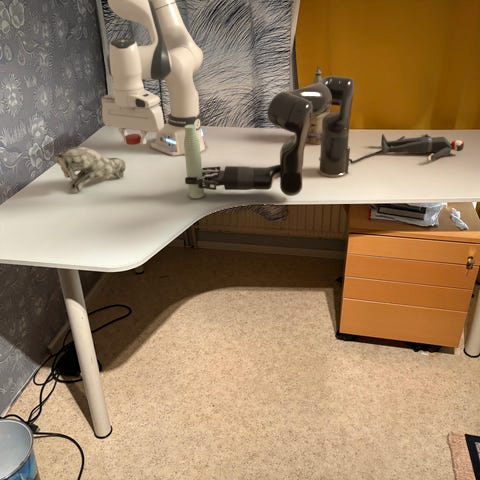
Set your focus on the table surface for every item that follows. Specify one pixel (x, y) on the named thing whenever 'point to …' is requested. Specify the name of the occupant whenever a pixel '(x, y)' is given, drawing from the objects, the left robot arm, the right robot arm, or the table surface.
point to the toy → (421, 145)
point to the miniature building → (316, 118)
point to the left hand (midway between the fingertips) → (135, 142)
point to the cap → (133, 139)
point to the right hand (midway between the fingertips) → (186, 177)
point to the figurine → (88, 166)
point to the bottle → (193, 159)
